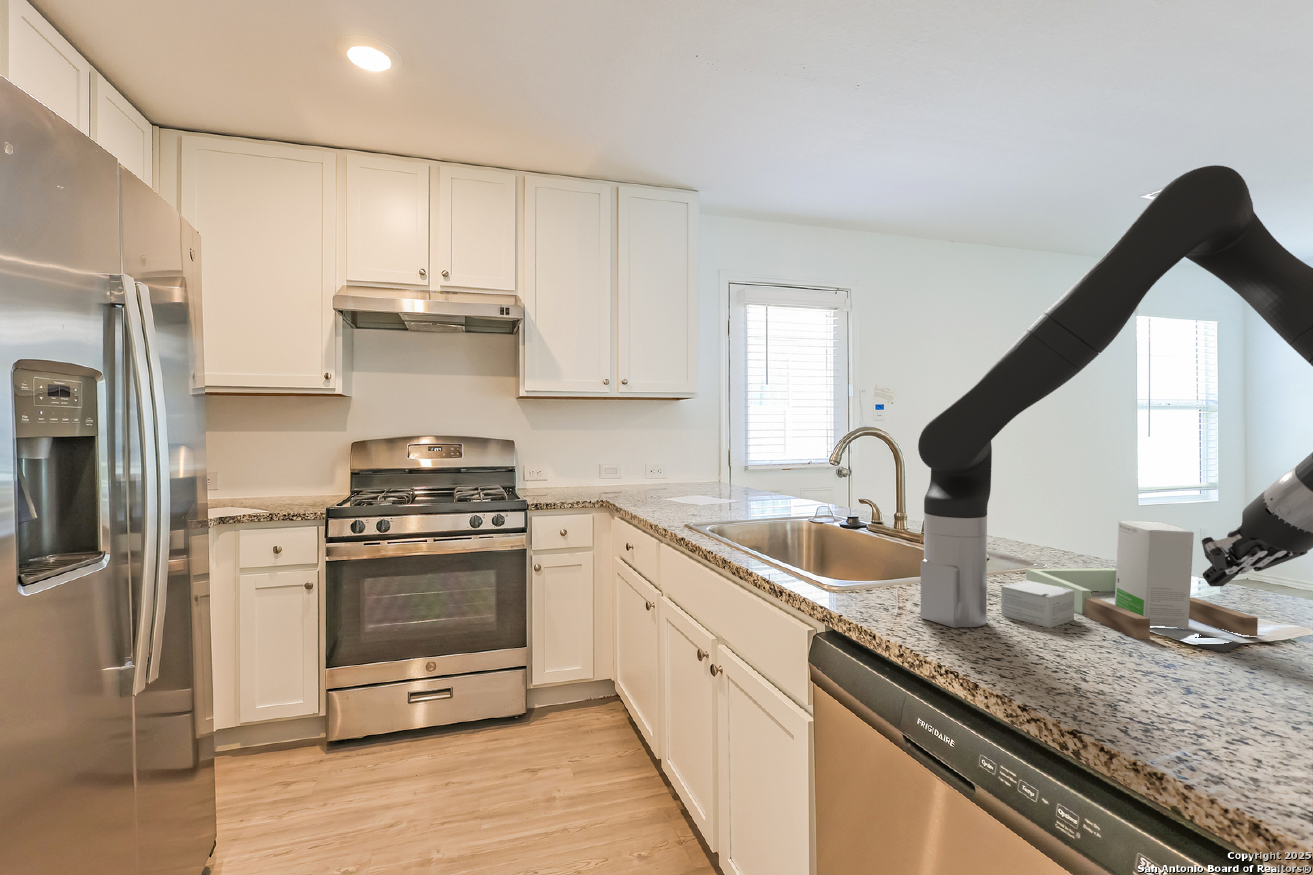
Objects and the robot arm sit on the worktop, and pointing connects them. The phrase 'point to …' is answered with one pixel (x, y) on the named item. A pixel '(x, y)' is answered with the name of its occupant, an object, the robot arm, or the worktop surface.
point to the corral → (1076, 581)
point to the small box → (1038, 603)
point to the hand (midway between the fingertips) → (1211, 580)
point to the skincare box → (1154, 571)
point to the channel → (1198, 611)
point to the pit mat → (1218, 645)
